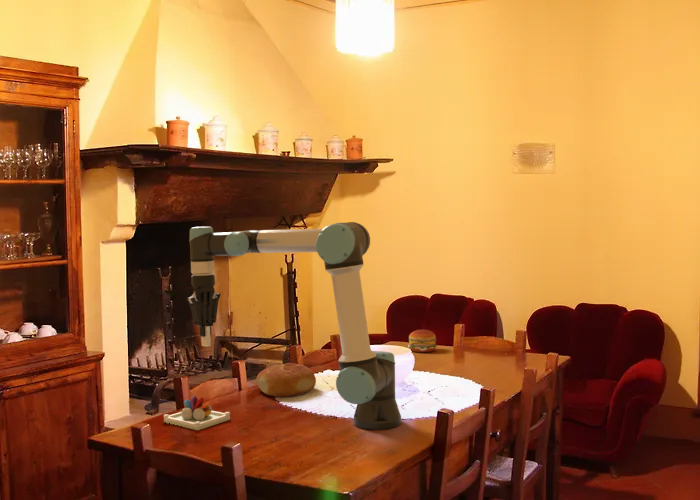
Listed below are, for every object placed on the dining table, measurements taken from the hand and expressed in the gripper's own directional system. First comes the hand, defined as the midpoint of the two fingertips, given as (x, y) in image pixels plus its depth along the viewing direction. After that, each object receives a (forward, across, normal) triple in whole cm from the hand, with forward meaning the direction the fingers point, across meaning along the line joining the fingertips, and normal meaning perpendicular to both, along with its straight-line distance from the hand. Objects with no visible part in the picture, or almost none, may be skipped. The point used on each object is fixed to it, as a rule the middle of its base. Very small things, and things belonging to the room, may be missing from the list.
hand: (206, 345), depth 254 cm
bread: (+25, -43, -3) cm, 50 cm away
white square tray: (+24, +3, -2) cm, 25 cm away
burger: (+25, -135, +2) cm, 137 cm away
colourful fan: (+24, +4, -2) cm, 24 cm away
